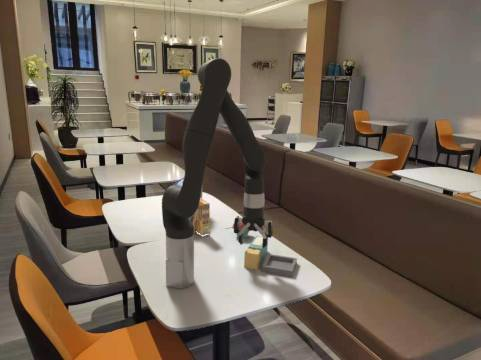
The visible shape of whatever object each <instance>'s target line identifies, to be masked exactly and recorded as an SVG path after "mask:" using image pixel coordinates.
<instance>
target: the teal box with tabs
mask: <svg viewBox="0 0 481 360" xmlns="http://www.w3.org/2000/svg"><path fill="white" fill-rule="evenodd" d="M268 244H269V238H267V245H266V246H265V248H263V247H262V246H263V236H259V235H256V236H255V237H253V240H252V241H251V242H250V244H249V246H248V247H247V248H249V249H256V250H260V264H262V261H263V260H264V258H265V256H266V255H267V252H268Z"/></svg>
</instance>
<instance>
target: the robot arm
mask: <svg viewBox="0 0 481 360" xmlns="http://www.w3.org/2000/svg"><path fill="white" fill-rule="evenodd" d="M197 79H198V80H197V81H198V83H199V84H200V86H202V88H201V93H200V97H199V100H198V102H197V105H196V106H195V108H194V110H193V112H192V114H191V115H190V118H189V120H188V122H187V123H186V124H187V125H186V126H185V127H186V128H185V132H184V135H183V139H182V146H181V150H182V157H183V164H184V176H183V178H184V180H183V184H182V187H181V186H178V185H174V184H173V185H170V186H169V187H167V188H166V189H165V190H164V191H163V194H162V198H161V216H162V224H163V228H164V230H165V256H166V257H165V258H166V259H165V286H166V287H169V288H170V287H171V288H175V289H180V290H184V289H185V288H186V287H190V286H191V285H193V284H194V282H195V231H194V226H193V222H190V221H189V219H188V218H190V217H191V216H193V215H194V214H195V212H196V211H197V208H198V206H199V202H200V196H201V190H202V184H204V177H205V173H206V168H207V164H208V160H209V156H210V152H211V149H212V146H213V145H212V144H213V142H214V138H215V133H216V129H217V124H218V121H219V117H220V116H221V118H222V119H223V120H224V123H225V124H226V127H227V128H228V130H229V133H230V134H231V136H232V138H233V140H234V143H235V144H236V146H237V147H238V148H239V149H240V152H241V154H242V156H243V171H244V191H243V192H244V194H243V206H242V207H243V208H242V209H243V212H242V214H243V216H242V217H240V216H239V215H238V216H236V217H235V218H234V222H233V224H234V229H233V233H234V234H236V233H237V234H238V235H239V237H238V243H239V245H243V244H244V238H243V235H244V234H243V232H244V231H245V230H246V229H248V231H249V232H252V231H253V232H258V233H259V234H260V235H261V237H263V246H262V247H263V248H265V246H266V245H267V238H268V239H269V238H272V237H273V235H274V230H273V229H274V227H273V226H274V225H273V220H272V219H270V220H266V219H265V202H266V201H265V178H264V175H263V169H264V168H265V167H266V165H267V161H268V160H267V156H266V153H265V151H264V149H263V148H262V147H261V145H260V142H259V141H258V140H257V138H256V135H255V133H254V130H253V129H252V126H251V125H250V123H249V121H248V119H247V117H246V116H245V114H244V113H243V112H242V110H241V109H240V108H239V106H238V105H237V104H236V103H235V102H234V99H233V98H232V97H231V95H230V94H229V91H228V88H229V85H230V83H231V79H232V69H231V66H230V64H229V62H228V61H227V60H226V59H224V58H221V57H219V58H217V57H216V58H212V59H210V60H207V61H206V62H204V63H202V64H201V65H200V67H199V68H198V72H197ZM241 221H242V222H243V224H244V225H245V226H244V227H243V228H242V229H241V230H239V223H240V222H241ZM264 225H265V226H266V227H267V231H266V229H265V227H264ZM237 234H236V235H237Z"/></svg>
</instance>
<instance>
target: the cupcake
mask: <svg viewBox="0 0 481 360" xmlns="http://www.w3.org/2000/svg"><path fill="white" fill-rule="evenodd" d="M244 226H245V225H244V224H243V222H242V221H241V222H240V223H239V230H241V229H242V228H243V227H244ZM232 230H234V223H232ZM249 232H250V231H248V229H246V230H245V231H244V232H243V234H244V235H243V237H244V238H247V237H248V236H249ZM235 234H236V236H237V237H238V236H239V235H238V234H237V233H235ZM247 235H248V236H247ZM246 236H247V237H246Z"/></svg>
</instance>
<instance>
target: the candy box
mask: <svg viewBox="0 0 481 360" xmlns="http://www.w3.org/2000/svg"><path fill="white" fill-rule="evenodd" d="M210 204H211V203H210V202H208V201H206V200H205V199H203V198H202V199H201V198H200V202H199V206H198V208H197V211H196V212H195V214H194V215H193V221H192V224H193V226H194V232H195V231H197V232H198V233H200V234H201V235H205V234H210V232H211V231H210V229H211V228H210V227H211V226H210V221H211V220H210V218H211V217H210V215H211V213H210V211H211V209H210Z"/></svg>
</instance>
